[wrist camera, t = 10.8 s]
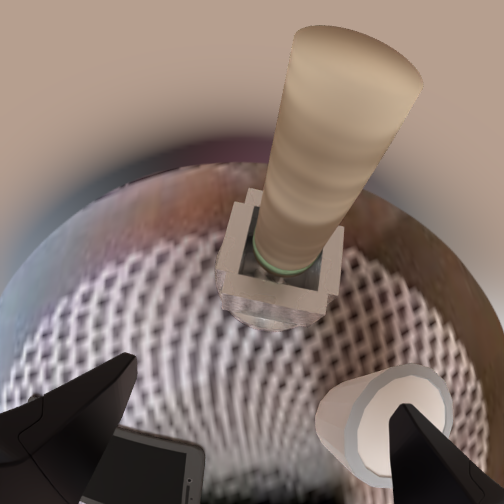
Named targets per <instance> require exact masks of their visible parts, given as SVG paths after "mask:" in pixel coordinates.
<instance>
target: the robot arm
mask: <svg viewBox="0 0 504 504" xmlns="http://www.w3.org/2000/svg"><path fill="white" fill-rule="evenodd" d="M136 379H137V357H136V356H135V355H133V354H130V353H127V352H124V353H122V354H120V355H118V356H116V357H114V358H112V359H111V360H109V361H107V362H105V363H103V364H101V365H99V366H97V367H96V368H94V369H92V370H90V371H88V372H86V373H84V374H82V375H81V376H79V377H77V378H75V379H73V380H71V381H69V382H67V383H65V384H63V385H62V386H60V387H58V388H56V389H54V390H52V391H50V392H48V393H46V394H44V397H43V396H40V397H38V398H36V399H34V400H32V401H30V402H28V403H26V404H24V405H21V406H19V407H16V408H14V409H11V410H9V411H6V412H3V413H0V504H78V503H79V501H80V499H81V497H82V495H83V493H84V491H85V489H86V487H87V485H88V483H89V481H90V479H91V477H92V475H93V473H94V471H95V469H96V467H97V465H98V463H99V461H100V459H101V457H102V455H103V453H104V451H105V449H106V447H107V445H108V443H109V441H110V439H111V437H112V435H113V433H114V432H115V430H116V428H117V426H118V424H119V422H120V420H121V418H122V416H123V413H124V411H125V408H126V405H127V403H128V400H129V397H130V395H131V392H132V389H133V387H134V384H135V382H136ZM389 454H390V466H391V475H392V485H393V496H394V504H504V488H503V487H501V486H500V485H499V484H497V483H496V482H495V481H494V480H492V479H491V478H490V477H489V476H487V475H486V474H485V473H484V472H483V471H482V470H481V469H479V468H478V467H477V466H476V465H475V464H474V463H473V462H472V461H471V460H469V458H468V457H467V456H466V455H465V454H464V453H463V452H462V451H460V450H459V449H458V448H457V447H456V446H455V445H454V444H453V443H452V442H451V441H450V440H449V439H448V438H447V437H446V436H445V435H444V434H443V433H442V432H441V431H440V430H439V429H438V428H436V427H435V426H434V425H433V424H432V423H431V422H430V421H429V420H428V419H427V418H426V417H425V416H424V415H423V414H422V413H421V412H420V411H419V410H418V409H417V408H416V407H415V406H414V405H412V404H410V403H402V404H400V405H399V406H398V408H397V409H396V410H395V412H394V413H393V414H392V416H391V417H390V419H389Z"/></svg>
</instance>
